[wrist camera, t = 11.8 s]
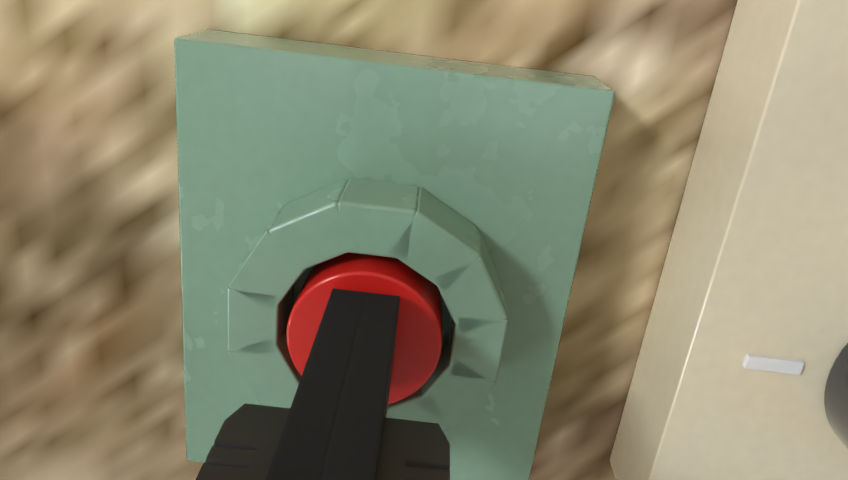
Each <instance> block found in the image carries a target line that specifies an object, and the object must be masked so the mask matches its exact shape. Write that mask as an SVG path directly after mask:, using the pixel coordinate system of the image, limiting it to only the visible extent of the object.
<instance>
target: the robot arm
mask: <svg viewBox="0 0 848 480" xmlns="http://www.w3.org/2000/svg"><path fill="white" fill-rule="evenodd" d="M399 303H400V296H395V295H386V294H378V293H369V292H360V291H352V290H343V289H335V288H333V289H332V292H331V294H330V297H329V300H328V303H327V306H326V309H325V311H324V314H323V317H322V320H321V323H320V326H319V328H318V331H317V334H316V337H315V340H314V343H313V345H312V348H311V351H310V354H309V357H308V360H307V362H306V365H305V368H304V371H303V374H302V377H301V379H300V382H299V385H298V388H297V391H296V394H295V396H294V399H293V402H292V405H291V408H282V407H273V406H264V405H256V404H247V403H245V404H243V405H242V406H241V407H240V408H239V409H237V410H236V411H235V412H234V413H233V414H231V415H230V416H229V417H228V418H227V419H225V421H224V423H223V425H222V427H221V429H220V431H219V433H218V435H217V437H216V439H215V441H214V446H213V445H212V447H211V449H210V451H209V453H208V455H207V457H206V461H205V463H204V464H203V466H202V468H201V470H200V472H199V474H198V476H197V478H196V480H450V443H449V441H448V440H447V438H446V436H445V434H444V433H443V431H442V429H441V427H440V425H439V424H438V423H430V422H421V421H412V420H403V419H395V418H386V415H387V408H388V400H389V392H390V383H391V374H392V365H393V357H394V348H395V339H396V330H397V321H398V312H399Z"/></svg>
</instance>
